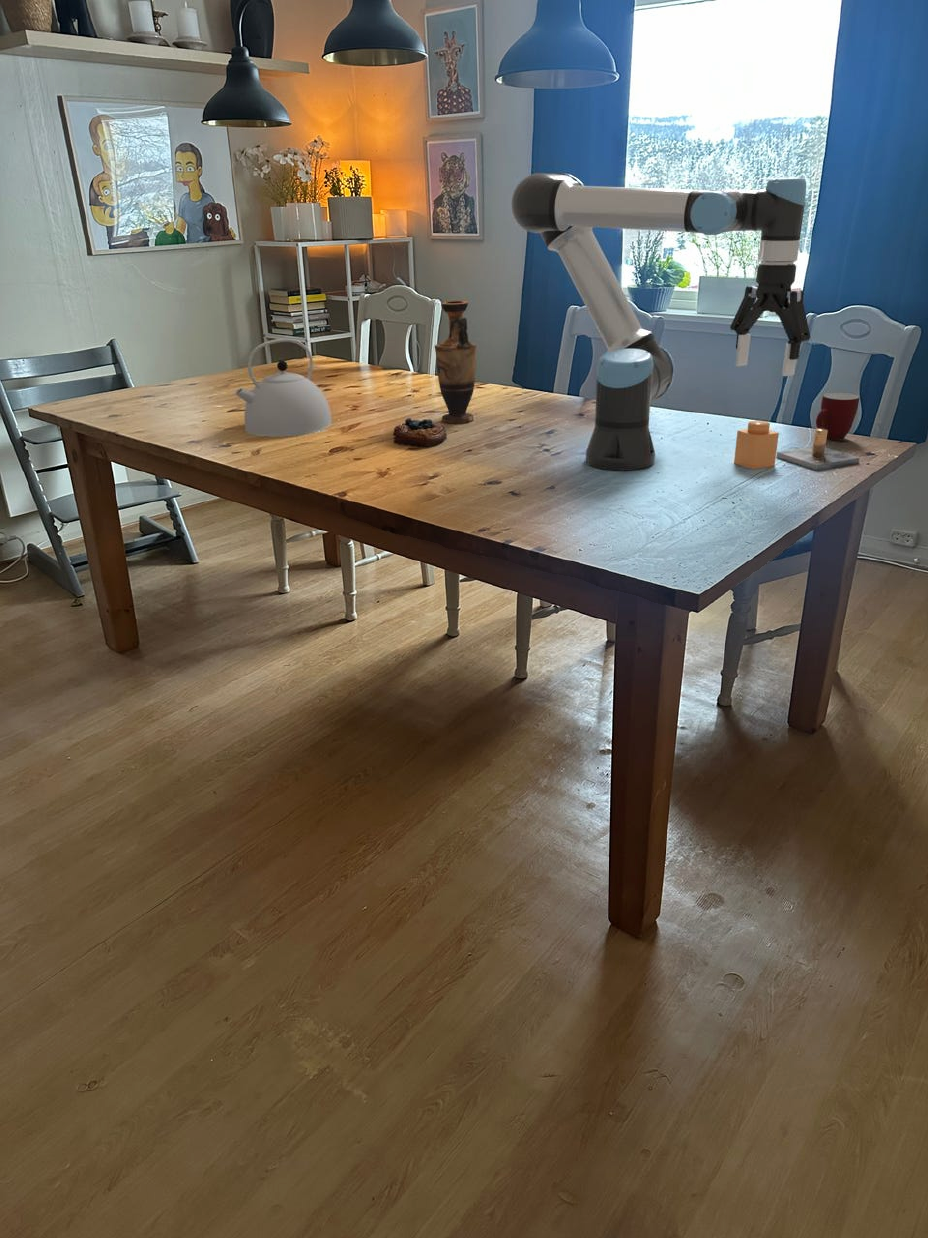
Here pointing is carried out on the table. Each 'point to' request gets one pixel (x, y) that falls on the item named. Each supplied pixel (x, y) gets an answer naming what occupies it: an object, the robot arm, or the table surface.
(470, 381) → the vase
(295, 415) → the kettle
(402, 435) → the pastry
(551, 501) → the table surface
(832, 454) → the plate
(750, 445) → the orange block
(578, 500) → the table surface
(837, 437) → the mug
